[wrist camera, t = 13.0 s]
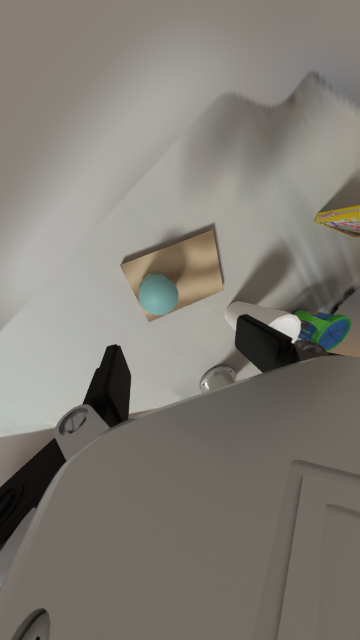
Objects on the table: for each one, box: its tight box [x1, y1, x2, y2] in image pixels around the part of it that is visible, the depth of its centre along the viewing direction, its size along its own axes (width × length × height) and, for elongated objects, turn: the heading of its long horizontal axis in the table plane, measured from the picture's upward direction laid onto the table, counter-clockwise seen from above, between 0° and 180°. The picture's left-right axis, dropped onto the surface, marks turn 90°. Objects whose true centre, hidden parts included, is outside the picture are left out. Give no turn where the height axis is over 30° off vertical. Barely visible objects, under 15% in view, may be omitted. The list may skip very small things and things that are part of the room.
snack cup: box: [293, 309, 351, 351], centre depth 40 cm, size 16×10×10 cm
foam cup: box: [225, 301, 301, 343], centre depth 31 cm, size 10×9×13 cm
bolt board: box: [120, 230, 223, 322], centre depth 26 cm, size 12×18×6 cm, turn 109°
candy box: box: [315, 205, 360, 237], centre depth 30 cm, size 16×2×8 cm, turn 81°
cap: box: [139, 274, 178, 315], centre depth 24 cm, size 6×6×5 cm
